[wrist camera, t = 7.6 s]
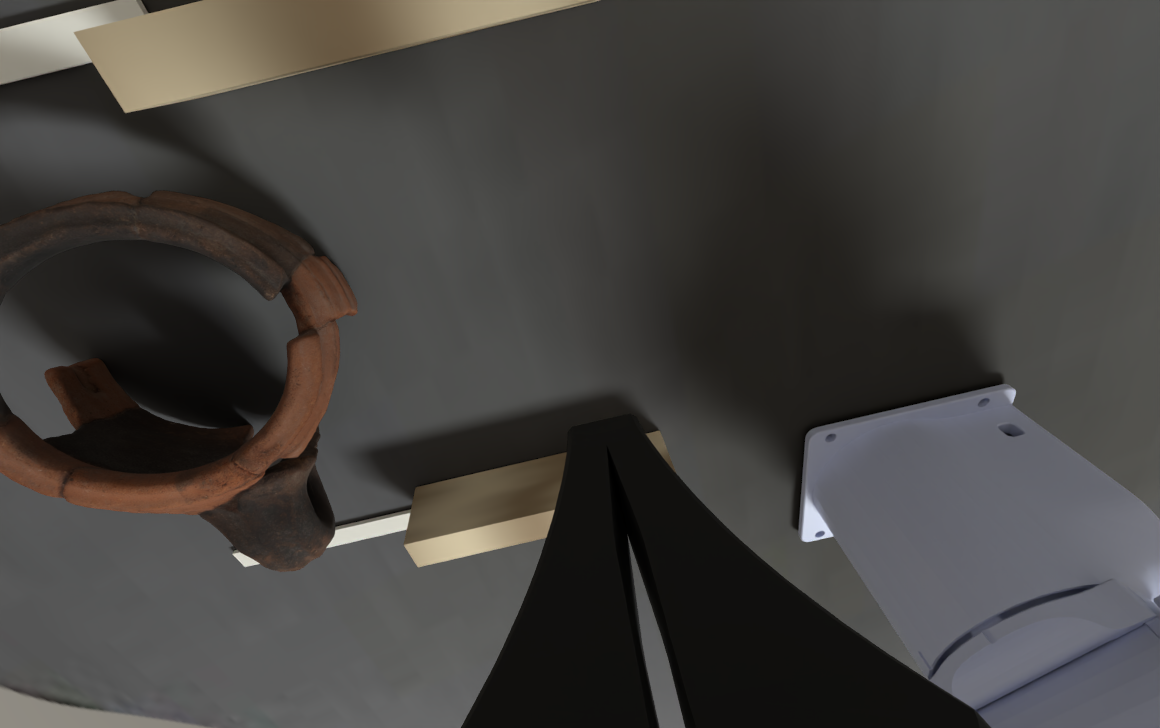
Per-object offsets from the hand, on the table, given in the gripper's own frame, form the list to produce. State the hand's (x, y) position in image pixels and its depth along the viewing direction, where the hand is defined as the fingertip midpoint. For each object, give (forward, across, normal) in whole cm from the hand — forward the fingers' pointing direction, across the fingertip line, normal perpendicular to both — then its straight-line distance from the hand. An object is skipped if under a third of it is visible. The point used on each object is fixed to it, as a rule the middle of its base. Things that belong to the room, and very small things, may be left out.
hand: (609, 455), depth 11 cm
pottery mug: (+9, +12, 0) cm, 15 cm away
